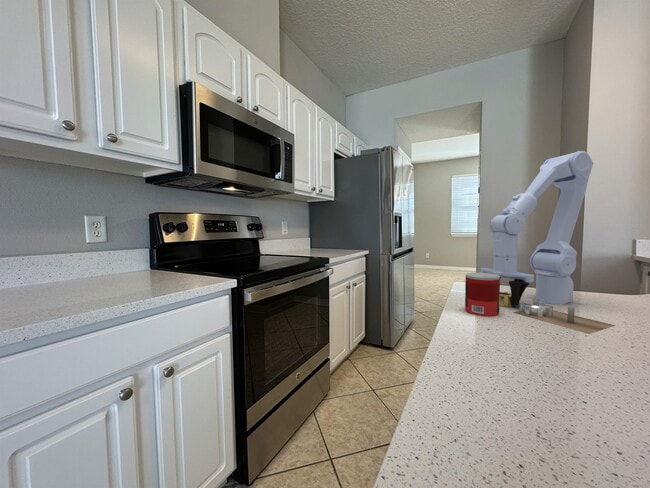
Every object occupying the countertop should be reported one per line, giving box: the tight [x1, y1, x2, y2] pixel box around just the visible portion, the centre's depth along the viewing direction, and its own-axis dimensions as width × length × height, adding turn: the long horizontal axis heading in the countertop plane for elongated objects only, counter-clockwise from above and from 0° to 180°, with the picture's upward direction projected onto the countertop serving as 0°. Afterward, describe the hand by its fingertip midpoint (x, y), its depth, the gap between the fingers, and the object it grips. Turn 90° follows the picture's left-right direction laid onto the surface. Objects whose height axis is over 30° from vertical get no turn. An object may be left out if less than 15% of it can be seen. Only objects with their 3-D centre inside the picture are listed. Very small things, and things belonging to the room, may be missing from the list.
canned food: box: [464, 272, 501, 318], centre depth 74 cm, size 8×8×11 cm
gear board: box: [512, 298, 616, 335], centre depth 68 cm, size 11×16×4 cm
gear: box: [518, 300, 554, 318], centre depth 73 cm, size 7×7×2 cm
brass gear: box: [499, 291, 513, 308], centre depth 81 cm, size 6×6×4 cm
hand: (504, 302), depth 81 cm, fingers closed on brass gear, 6 cm apart
